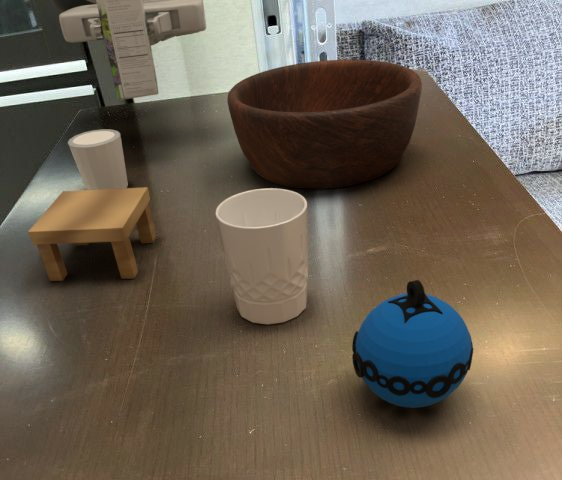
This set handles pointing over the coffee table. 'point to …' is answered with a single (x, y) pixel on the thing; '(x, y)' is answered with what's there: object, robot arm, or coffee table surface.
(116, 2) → the syrup box
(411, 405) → the ornament
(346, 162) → the wooden bowl
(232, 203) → the white cup
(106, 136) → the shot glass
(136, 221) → the stand
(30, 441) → the coffee table surface
